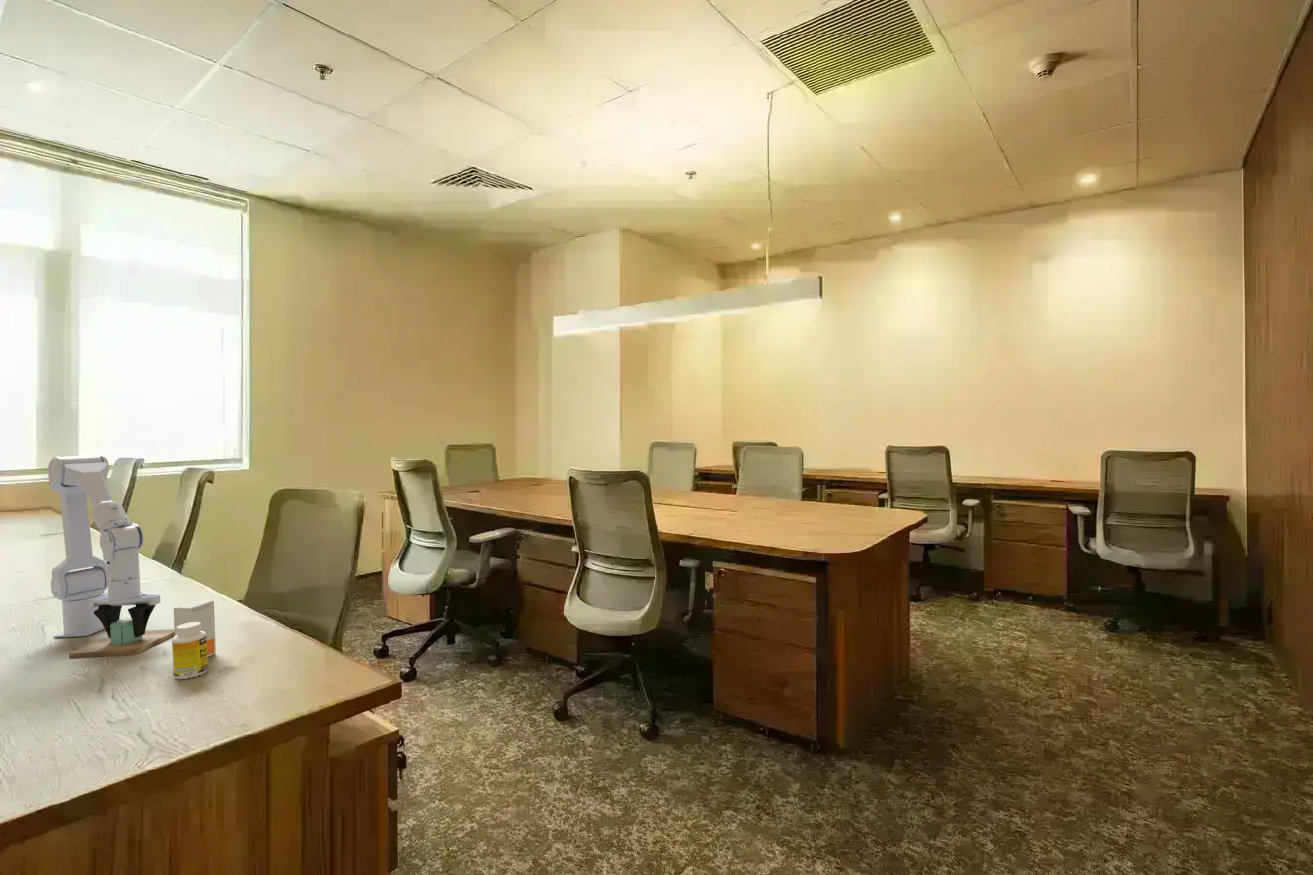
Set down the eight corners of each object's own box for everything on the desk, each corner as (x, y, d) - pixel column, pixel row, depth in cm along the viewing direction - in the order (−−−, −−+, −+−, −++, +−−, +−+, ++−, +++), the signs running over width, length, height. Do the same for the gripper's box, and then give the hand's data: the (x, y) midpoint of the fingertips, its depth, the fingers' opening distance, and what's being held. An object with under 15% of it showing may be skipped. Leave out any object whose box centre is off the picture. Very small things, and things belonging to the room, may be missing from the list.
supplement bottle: (205, 676, 125) (202, 626, 124) (170, 682, 122) (167, 631, 122) (210, 667, 130) (208, 618, 129) (177, 672, 127) (175, 623, 127)
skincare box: (191, 664, 131) (188, 608, 131) (175, 663, 132) (172, 607, 132) (217, 653, 137) (214, 600, 137) (201, 652, 138) (198, 599, 138)
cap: (105, 645, 142) (103, 623, 141) (124, 636, 147) (123, 616, 147) (129, 644, 142) (128, 623, 142) (147, 635, 147) (146, 615, 147)
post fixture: (120, 635, 151) (119, 619, 151) (180, 632, 152) (179, 616, 152) (69, 657, 137) (68, 639, 137) (134, 654, 138) (133, 636, 138)
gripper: (168, 572, 148) (171, 628, 149) (105, 575, 148) (109, 631, 148) (145, 580, 141) (149, 639, 142) (79, 582, 141) (83, 642, 141)
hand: (126, 636), depth 144 cm, fingers closed on cap, 5 cm apart
